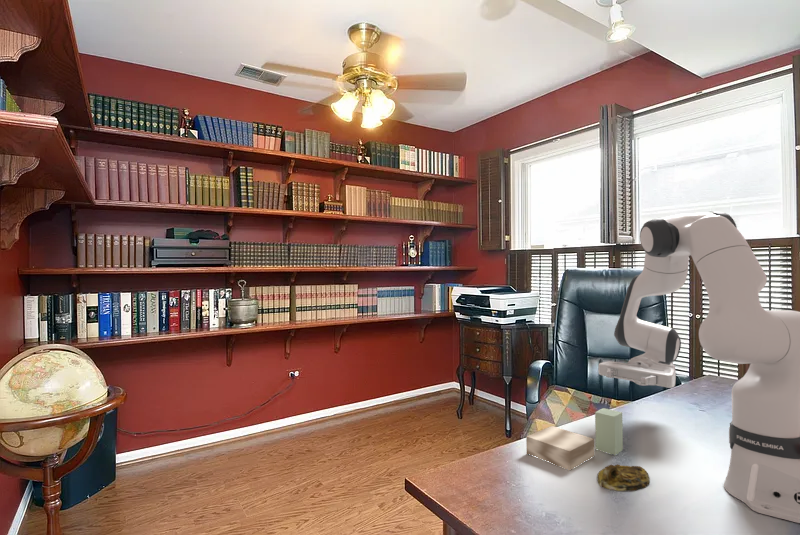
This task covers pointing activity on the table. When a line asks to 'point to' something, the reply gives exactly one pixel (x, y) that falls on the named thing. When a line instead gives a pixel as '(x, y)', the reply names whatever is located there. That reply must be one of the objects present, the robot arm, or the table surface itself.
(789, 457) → the robot arm
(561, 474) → the table surface
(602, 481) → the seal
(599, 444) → the green block
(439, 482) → the table surface
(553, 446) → the plinth
